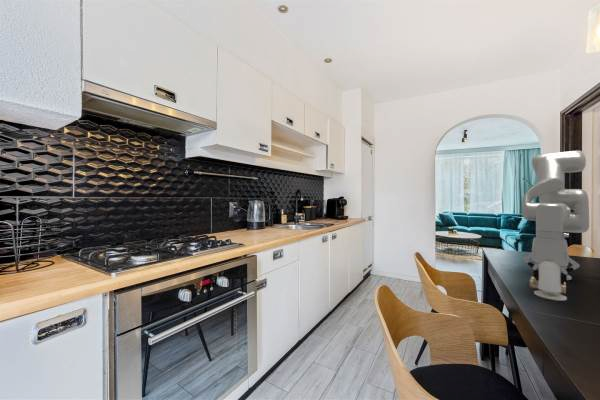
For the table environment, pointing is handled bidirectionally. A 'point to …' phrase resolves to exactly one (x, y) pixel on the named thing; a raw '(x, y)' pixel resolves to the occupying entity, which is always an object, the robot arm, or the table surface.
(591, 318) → the table surface
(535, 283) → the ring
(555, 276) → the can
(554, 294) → the coaster
